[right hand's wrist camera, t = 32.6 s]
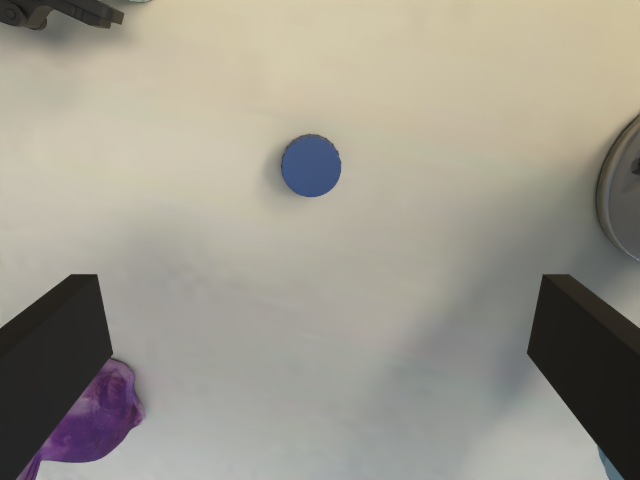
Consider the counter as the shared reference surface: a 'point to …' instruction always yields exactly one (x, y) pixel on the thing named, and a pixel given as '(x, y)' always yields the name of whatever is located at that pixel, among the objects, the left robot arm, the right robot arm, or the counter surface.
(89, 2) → the left robot arm
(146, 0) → the bottle
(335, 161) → the cap
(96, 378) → the figurine
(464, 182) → the counter surface
